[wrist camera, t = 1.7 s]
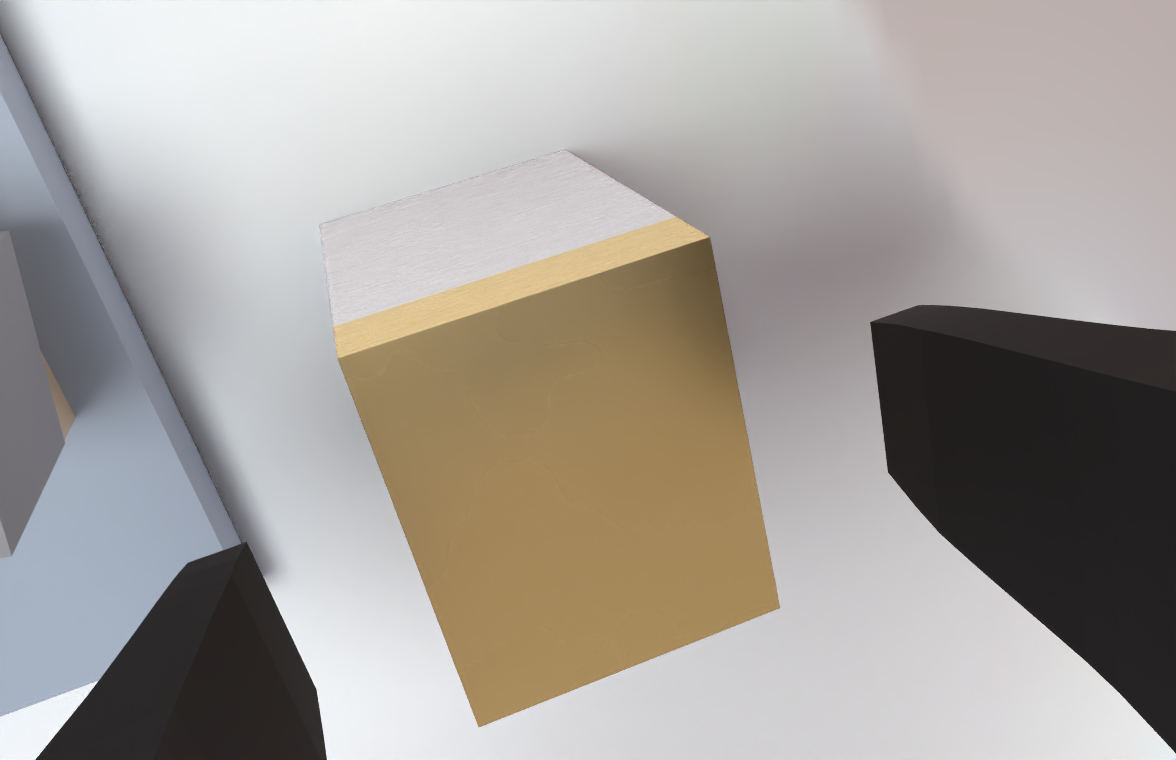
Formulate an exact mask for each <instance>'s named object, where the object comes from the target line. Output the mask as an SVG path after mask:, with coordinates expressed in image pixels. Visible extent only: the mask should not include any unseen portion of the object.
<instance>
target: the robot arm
mask: <svg viewBox="0 0 1176 760" xmlns="http://www.w3.org/2000/svg"><path fill="white" fill-rule="evenodd" d="M870 324H871V332H872V340H873V349H874V357H875V366H876V374H877V383H878V391H879V399H880V408H881V416H882V425H883V433H884V442H885V450H886V459H887V467H888V473H889V474H890V475H891V476H892V478H893V479H894V480H895V481H896V483H897V484H898V485H899V486H900V488H901V489H902V490H903V491H904V492H905V494H906V495H907V496H908V497H909V499H910V500H911V501H912V502H913V503H914V505H915V506H916V507H917V508H918V509H919V510H920V512H921V513H922V514H923V515H924V516H925V517H926V518H927V519H928V521H929V522H930V523H931V524H932V525H933V526H934V527H935V528H936V530H937V531H938V532H939V533H940V534H941V535H942V536H943V537H944V538H946V539H947V540H948V541H949V542H950V543H951V544H952V545H953V546H954V547H955V548H957V549H958V550H959V551H960V552H961V553H962V554H963V555H964V556H966V557H967V558H968V559H969V560H970V561H971V562H972V563H973V564H975V565H976V566H977V567H978V568H979V569H980V570H981V571H983V572H984V573H985V574H986V575H987V576H988V577H989V578H990V579H992V580H993V581H994V582H995V583H996V584H997V585H999V586H1000V587H1001V588H1002V589H1003V590H1004V591H1005V592H1007V593H1008V594H1009V595H1010V596H1011V597H1012V598H1014V599H1015V600H1016V601H1017V602H1018V603H1019V604H1020V605H1022V606H1023V607H1024V608H1025V609H1026V610H1027V611H1029V612H1030V613H1031V614H1032V615H1033V616H1034V617H1036V618H1037V619H1038V620H1039V621H1040V622H1041V623H1042V624H1044V625H1045V626H1046V627H1047V628H1048V629H1049V630H1051V631H1052V632H1053V633H1054V634H1055V635H1056V636H1057V637H1059V638H1060V639H1061V640H1062V641H1063V642H1064V643H1066V644H1067V645H1068V646H1069V647H1070V648H1071V649H1072V650H1074V651H1075V652H1076V653H1077V654H1078V655H1079V656H1081V657H1082V658H1083V659H1084V660H1085V661H1086V662H1087V663H1088V664H1089V665H1090V666H1092V667H1093V668H1094V669H1095V670H1096V671H1097V672H1098V673H1099V674H1100V675H1101V676H1102V677H1103V678H1104V679H1105V680H1106V681H1107V682H1108V683H1110V684H1111V685H1112V686H1113V687H1114V688H1115V689H1116V690H1117V691H1118V692H1119V693H1120V694H1121V695H1122V696H1123V697H1124V698H1125V699H1126V700H1127V702H1128V703H1129V704H1130V705H1131V706H1132V707H1133V708H1134V709H1135V710H1136V711H1137V712H1138V713H1139V714H1140V715H1141V716H1142V718H1143V719H1144V720H1145V721H1146V722H1147V723H1148V724H1149V725H1150V726H1151V727H1152V728H1153V729H1154V730H1155V731H1156V732H1157V734H1158V735H1159V736H1160V737H1161V738H1162V739H1163V740H1164V741H1165V742H1166V743H1167V744H1168V745H1169V746H1170V747H1171V748H1172V750H1173V751H1174V752H1175V753H1176V331H1169V330H1157V329H1146V328H1137V327H1128V326H1118V325H1109V324H1101V323H1092V322H1084V321H1076V320H1068V319H1060V318H1052V317H1045V316H1037V315H1029V314H1021V313H1013V312H1005V311H997V310H988V309H979V308H969V307H958V306H941V305H918V306H915V307H912V308H909V309H906V310H903V311H900V312H898V313H895V314H892V315H889V316H886V317H883V318H881V319H878V320H875V321H872V322H870ZM36 760H327V758H326V750H325V743H324V735H323V729H322V723H321V716H320V710H319V703H318V697H317V690H316V688H315V686H314V684H313V682H312V679H311V677H310V675H309V673H308V671H307V669H306V667H305V665H304V663H303V660H302V658H301V656H300V654H299V652H298V650H297V648H296V646H295V644H294V641H293V639H292V637H291V635H290V633H289V631H288V629H287V627H286V624H285V622H284V620H283V618H282V616H281V614H280V612H279V610H278V608H277V605H276V603H275V601H274V599H273V597H272V595H271V593H270V591H269V589H268V586H267V584H266V582H265V580H264V578H263V576H262V574H261V572H260V570H259V567H258V565H257V563H256V561H255V559H254V557H253V555H252V553H251V550H250V548H249V546H248V544H247V542H245V543H242V544H239V545H237V546H234V547H231V548H228V549H225V550H222V551H220V552H217V553H214V554H211V555H208V556H205V557H202V558H200V559H197V560H194V561H191V562H188V563H187V564H186V565H185V566H184V567H183V569H182V570H181V571H180V572H179V573H178V574H177V576H176V577H175V578H174V579H173V581H172V582H171V583H170V585H169V586H168V587H167V588H166V590H165V591H164V593H163V594H162V595H161V597H160V598H159V599H158V601H157V602H156V603H155V605H154V606H153V608H152V609H151V610H150V612H149V613H148V614H147V616H146V617H145V619H144V620H143V621H142V623H141V624H140V625H139V627H138V628H137V630H136V631H135V632H134V634H133V635H132V636H131V638H130V639H129V641H128V642H127V643H126V645H125V646H124V647H123V649H122V650H121V651H120V653H119V654H118V655H117V657H116V658H115V659H114V661H113V662H112V663H111V665H110V666H109V668H108V669H107V670H106V672H105V673H104V674H103V676H102V677H101V678H100V680H99V681H98V682H97V684H96V685H95V686H94V688H93V689H92V690H91V692H90V693H89V694H88V696H87V697H86V698H85V699H84V701H83V702H82V703H81V704H80V706H79V707H78V708H77V709H76V710H75V712H74V713H73V714H72V715H71V717H70V718H69V719H68V720H67V722H66V723H65V724H64V725H63V726H62V728H61V729H60V730H59V731H58V733H57V734H56V735H55V736H54V738H53V739H52V740H51V741H50V742H49V744H48V745H47V746H46V747H45V749H44V750H43V751H42V752H41V754H40V755H39V756H38V757H37V758H36Z"/></svg>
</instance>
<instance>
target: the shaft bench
mask: <svg viewBox="0 0 1176 760" xmlns="http://www.w3.org/2000/svg"><path fill="white" fill-rule="evenodd" d="M239 544H242V543H241V540H240V538H239V536H238V534H237V532H236V530H235V528H234V526H233V524H232V521H231V519H230V517H229V515H228V513H227V511H226V509H225V507H224V505H223V503H222V500H221V498H220V496H219V494H218V492H217V490H216V488H215V486H214V484H213V481H212V479H211V477H210V475H209V473H208V471H207V469H206V467H205V465H204V462H203V460H202V458H201V456H200V454H199V452H198V450H197V448H196V446H195V443H194V441H193V439H192V437H191V435H190V433H189V431H188V429H187V427H186V425H185V422H184V420H183V418H182V416H181V414H180V412H179V410H178V408H177V406H176V403H175V401H174V399H173V397H172V395H171V393H170V391H169V389H168V387H167V384H166V382H165V380H164V378H163V376H162V374H161V372H160V370H159V368H158V365H157V363H156V361H155V359H154V357H153V355H152V353H151V351H150V349H149V347H148V344H147V342H146V340H145V338H144V336H143V334H142V332H141V330H140V328H139V325H138V323H137V321H136V319H135V317H134V315H133V313H132V311H131V309H130V306H129V304H128V302H127V300H126V298H125V296H124V294H123V292H122V290H121V287H120V285H119V283H118V281H117V279H116V277H115V275H114V273H113V271H112V268H111V266H110V264H109V262H108V260H107V258H106V256H105V254H104V252H103V250H102V247H101V245H100V243H99V241H98V239H97V237H96V235H95V233H94V231H93V228H92V226H91V224H90V222H89V220H88V218H87V216H86V214H85V212H84V209H83V207H82V205H81V203H80V201H79V199H78V197H77V195H76V193H75V190H74V188H73V186H72V184H71V182H70V180H69V178H68V176H67V174H66V172H65V169H64V167H63V165H62V163H61V161H60V159H59V157H58V155H57V153H56V150H55V148H54V146H53V144H52V142H51V140H50V138H49V136H48V134H47V131H46V129H45V127H44V125H43V123H42V121H41V119H40V117H39V115H38V112H37V110H36V108H35V106H34V104H33V102H32V100H31V98H30V96H29V94H28V91H27V89H26V87H25V85H24V83H23V81H22V79H21V77H20V75H19V72H18V70H17V68H16V66H15V64H14V62H13V60H12V58H11V56H10V53H9V51H8V49H7V47H6V45H5V43H4V41H3V39H2V37H1V34H0V716H3V715H6V714H8V713H11V712H14V711H17V710H19V709H22V708H25V707H27V706H30V705H33V704H36V703H38V702H41V701H44V700H46V699H49V698H52V697H55V696H57V695H60V694H63V693H66V692H68V691H71V690H74V689H76V688H79V687H82V686H85V685H87V684H90V683H93V682H95V681H98V680H100V678H101V677H102V676H103V674H104V673H105V672H106V670H107V669H108V668H109V666H110V665H111V663H112V662H113V661H114V659H115V658H116V657H117V655H118V654H119V653H120V651H121V650H122V649H123V647H124V646H125V645H126V643H127V642H128V641H129V639H130V638H131V636H132V635H133V634H134V632H135V631H136V630H137V628H138V627H139V625H140V624H141V623H142V621H143V620H144V619H145V617H146V616H147V614H148V613H149V612H150V610H151V609H152V608H153V606H154V605H155V603H156V602H157V601H158V599H159V598H160V597H161V595H162V594H163V593H164V591H165V590H166V588H167V587H168V586H169V585H170V583H171V582H172V581H173V579H174V578H175V577H176V576H177V574H178V573H179V572H180V571H181V570H182V569H183V567H184V566H185V565H186V564H187V563H188V562H191V561H194V560H197V559H200V558H202V557H205V556H208V555H211V554H214V553H217V552H220V551H222V550H225V549H228V548H231V547H234V546H237V545H239Z"/></svg>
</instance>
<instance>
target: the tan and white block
mask: <svg viewBox="0 0 1176 760" xmlns="http://www.w3.org/2000/svg"><path fill="white" fill-rule="evenodd" d="M319 227H320V234H321V241H322V249H323V256H324V263H325V270H326V278H327V285H328V292H329V300H330V307H331V314H332V321H333V329H334V336H335V343H336V350H337V358H338V361H339V363H340V366H341V369H342V371H343V374H344V377H345V379H346V382H347V384H348V387H349V390H350V392H351V395H352V397H353V400H354V403H355V405H356V408H357V410H358V413H359V416H360V418H361V421H362V424H363V426H364V429H365V431H366V434H367V437H368V439H369V442H370V444H371V447H372V450H373V452H374V455H375V458H376V460H377V463H378V465H379V468H380V471H381V473H382V476H383V478H384V481H385V484H386V486H387V489H388V491H389V494H390V497H391V499H392V502H393V505H394V507H395V510H396V512H397V515H398V518H399V520H400V523H401V525H402V528H403V531H404V533H405V536H406V539H407V541H408V544H409V546H410V549H411V552H412V554H413V557H414V559H415V562H416V565H417V567H418V570H419V572H420V575H421V578H422V580H423V583H424V586H425V588H426V591H427V593H428V596H429V599H430V601H431V604H432V606H433V609H434V612H435V614H436V617H437V620H438V622H439V625H440V627H441V630H442V633H443V635H444V638H445V640H446V643H447V646H448V648H449V651H450V653H451V656H452V659H453V661H454V664H455V667H456V669H457V672H458V674H459V677H460V680H461V682H462V685H463V687H464V690H465V693H466V695H467V698H468V700H469V703H470V706H471V708H472V711H473V714H474V716H475V719H476V721H477V724H478V727H481V726H483V725H486V724H488V723H491V722H493V721H496V720H499V719H501V718H504V717H506V716H509V715H511V714H514V713H516V712H519V711H521V710H524V709H526V708H529V707H531V706H534V705H536V704H539V703H541V702H544V701H546V700H549V699H552V698H554V697H557V696H559V695H562V694H564V693H567V692H569V691H572V690H574V689H577V688H579V687H582V686H584V685H587V684H589V683H592V682H594V681H597V680H599V679H602V678H605V677H607V676H610V675H612V674H615V673H617V672H620V671H622V670H625V669H627V668H630V667H632V666H635V665H637V664H640V663H642V662H645V661H647V660H650V659H652V658H655V657H657V656H660V655H663V654H665V653H668V652H670V651H673V650H675V649H678V648H680V647H683V646H685V645H688V644H690V643H693V642H695V641H698V640H700V639H703V638H705V637H708V636H710V635H713V634H716V633H718V632H721V631H723V630H726V629H728V628H731V627H733V626H736V625H738V624H741V623H743V622H746V621H748V620H751V619H753V618H756V617H758V616H761V615H763V614H766V613H768V612H771V611H774V610H776V609H779V608H780V605H779V600H778V594H777V589H776V584H775V579H774V573H773V568H772V563H771V558H770V552H769V547H768V542H767V536H766V531H765V526H764V521H763V515H762V510H761V505H760V499H759V494H758V489H757V484H756V478H755V473H754V468H753V463H752V457H751V452H750V447H749V441H748V436H747V431H746V426H745V420H744V415H743V410H742V404H741V399H740V394H739V389H738V383H737V378H736V373H735V367H734V362H733V357H732V352H731V346H730V341H729V336H728V331H727V325H726V320H725V315H724V309H723V304H722V299H721V294H720V288H719V283H718V278H717V272H716V267H715V262H714V257H713V251H712V246H711V241H710V237H709V236H707V235H706V234H704V233H702V232H701V231H699V230H697V229H696V228H694V227H692V226H691V225H689V224H688V223H686V222H684V221H683V220H681V219H679V218H678V217H676V216H674V215H673V214H671V213H669V212H668V211H666V210H664V209H663V208H661V207H659V206H658V205H656V204H654V203H653V202H651V201H649V200H648V199H646V198H644V197H643V196H641V195H639V194H638V193H636V192H634V191H633V190H631V189H629V188H628V187H626V186H624V185H623V184H621V183H620V182H618V181H616V180H615V179H613V178H611V177H610V176H608V175H606V174H605V173H603V172H601V171H600V170H598V169H596V168H595V167H593V166H591V165H590V164H588V163H586V162H585V161H583V160H581V159H580V158H578V157H576V156H575V155H573V154H571V153H570V152H568V151H566V150H563V151H559V152H556V153H553V154H550V155H546V156H543V157H540V158H536V159H533V160H530V161H527V162H523V163H520V164H517V165H513V166H510V167H507V168H504V169H500V170H497V171H494V172H490V173H487V174H484V175H481V176H477V177H474V178H471V179H468V180H464V181H461V182H458V183H454V184H451V185H448V186H445V187H441V188H438V189H435V190H431V191H428V192H425V193H422V194H418V195H415V196H412V197H408V198H405V199H402V200H399V201H395V202H392V203H389V204H385V205H382V206H379V207H376V208H372V209H369V210H366V211H362V212H359V213H356V214H353V215H349V216H346V217H343V218H339V219H336V220H333V221H330V222H326V223H323V224H320V225H319Z"/></svg>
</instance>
